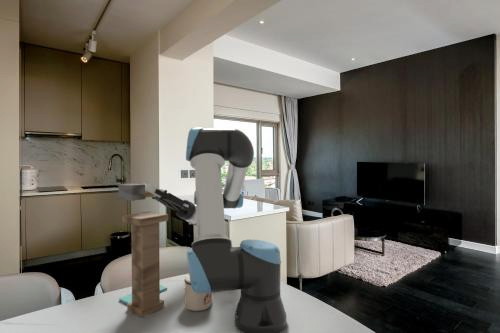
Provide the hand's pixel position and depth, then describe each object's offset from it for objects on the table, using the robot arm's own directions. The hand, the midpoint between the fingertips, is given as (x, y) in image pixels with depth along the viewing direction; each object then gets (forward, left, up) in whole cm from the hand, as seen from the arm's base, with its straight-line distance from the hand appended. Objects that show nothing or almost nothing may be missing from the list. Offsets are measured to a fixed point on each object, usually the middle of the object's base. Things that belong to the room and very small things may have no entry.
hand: (145, 186), depth 105 cm
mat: (-1, +1, -38) cm, 38 cm away
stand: (-10, +7, -38) cm, 40 cm away
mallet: (0, 0, -4) cm, 4 cm away
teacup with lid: (-21, -6, -38) cm, 44 cm away
